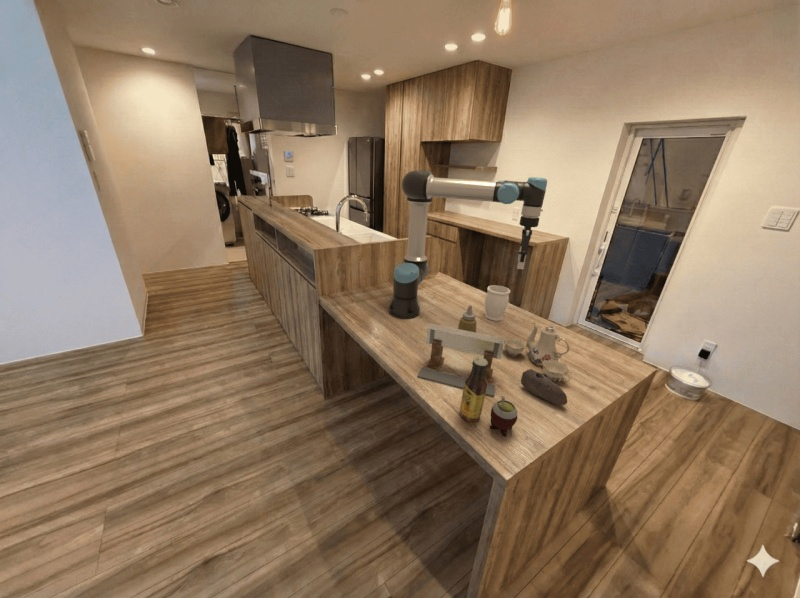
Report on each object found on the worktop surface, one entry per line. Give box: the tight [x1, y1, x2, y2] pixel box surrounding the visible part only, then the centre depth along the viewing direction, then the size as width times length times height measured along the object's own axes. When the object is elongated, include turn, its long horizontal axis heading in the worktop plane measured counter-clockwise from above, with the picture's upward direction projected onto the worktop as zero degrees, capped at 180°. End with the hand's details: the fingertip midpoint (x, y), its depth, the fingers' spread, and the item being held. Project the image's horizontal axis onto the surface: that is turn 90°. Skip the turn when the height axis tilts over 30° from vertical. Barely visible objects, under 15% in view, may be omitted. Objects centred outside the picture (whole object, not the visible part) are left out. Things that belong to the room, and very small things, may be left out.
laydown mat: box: [416, 366, 496, 398], centre depth 110 cm, size 26×6×1 cm, turn 70°
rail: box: [425, 322, 505, 360], centre depth 112 cm, size 26×4×6 cm, turn 70°
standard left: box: [426, 341, 445, 371], centre depth 117 cm, size 5×7×11 cm
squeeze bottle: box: [457, 305, 478, 333], centre depth 128 cm, size 8×8×18 cm
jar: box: [484, 284, 511, 322], centre depth 154 cm, size 11×10×15 cm
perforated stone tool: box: [520, 368, 568, 406], centre depth 104 cm, size 15×5×7 cm, turn 38°
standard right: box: [482, 352, 494, 383], centre depth 112 cm, size 5×7×11 cm
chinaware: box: [504, 322, 571, 383], centre depth 120 cm, size 28×17×17 cm, turn 37°
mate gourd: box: [489, 395, 518, 438], centre depth 89 cm, size 8×8×15 cm
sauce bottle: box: [459, 356, 488, 422], centre depth 92 cm, size 7×6×20 cm
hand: (520, 264), depth 144 cm, fingers open, 13 cm apart
